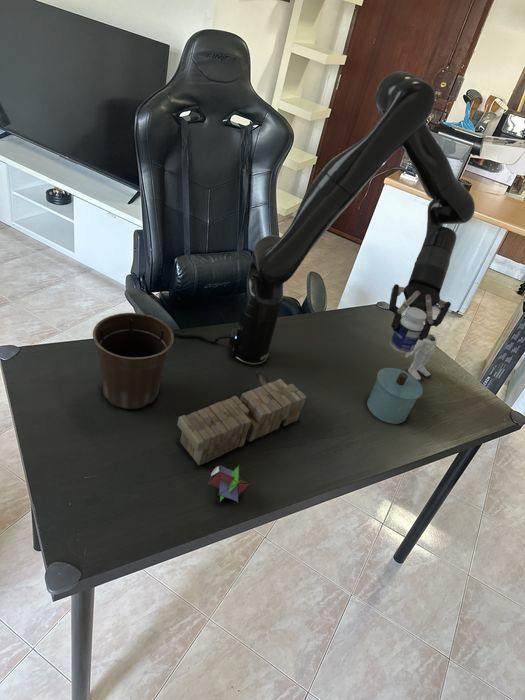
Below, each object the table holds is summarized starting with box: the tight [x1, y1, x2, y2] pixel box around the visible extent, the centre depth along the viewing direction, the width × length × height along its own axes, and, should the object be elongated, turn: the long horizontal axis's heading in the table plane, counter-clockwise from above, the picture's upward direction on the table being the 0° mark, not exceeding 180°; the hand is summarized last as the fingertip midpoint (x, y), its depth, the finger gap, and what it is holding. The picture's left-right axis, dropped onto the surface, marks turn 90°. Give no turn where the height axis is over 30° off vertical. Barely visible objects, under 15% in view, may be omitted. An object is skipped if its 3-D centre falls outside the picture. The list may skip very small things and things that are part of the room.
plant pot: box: [92, 312, 175, 410], centre depth 105 cm, size 16×16×16 cm
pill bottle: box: [389, 306, 427, 354], centre depth 114 cm, size 6×6×10 cm
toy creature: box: [405, 333, 437, 381], centre depth 138 cm, size 12×6×12 cm, turn 126°
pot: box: [366, 367, 424, 425], centre depth 121 cm, size 12×12×12 cm
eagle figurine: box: [255, 370, 271, 386], centre depth 116 cm, size 8×7×9 cm
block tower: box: [176, 378, 307, 466], centre depth 105 cm, size 8×8×29 cm
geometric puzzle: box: [207, 464, 251, 503], centre depth 91 cm, size 7×7×8 cm
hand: (408, 334), depth 112 cm, fingers closed on pill bottle, 5 cm apart
